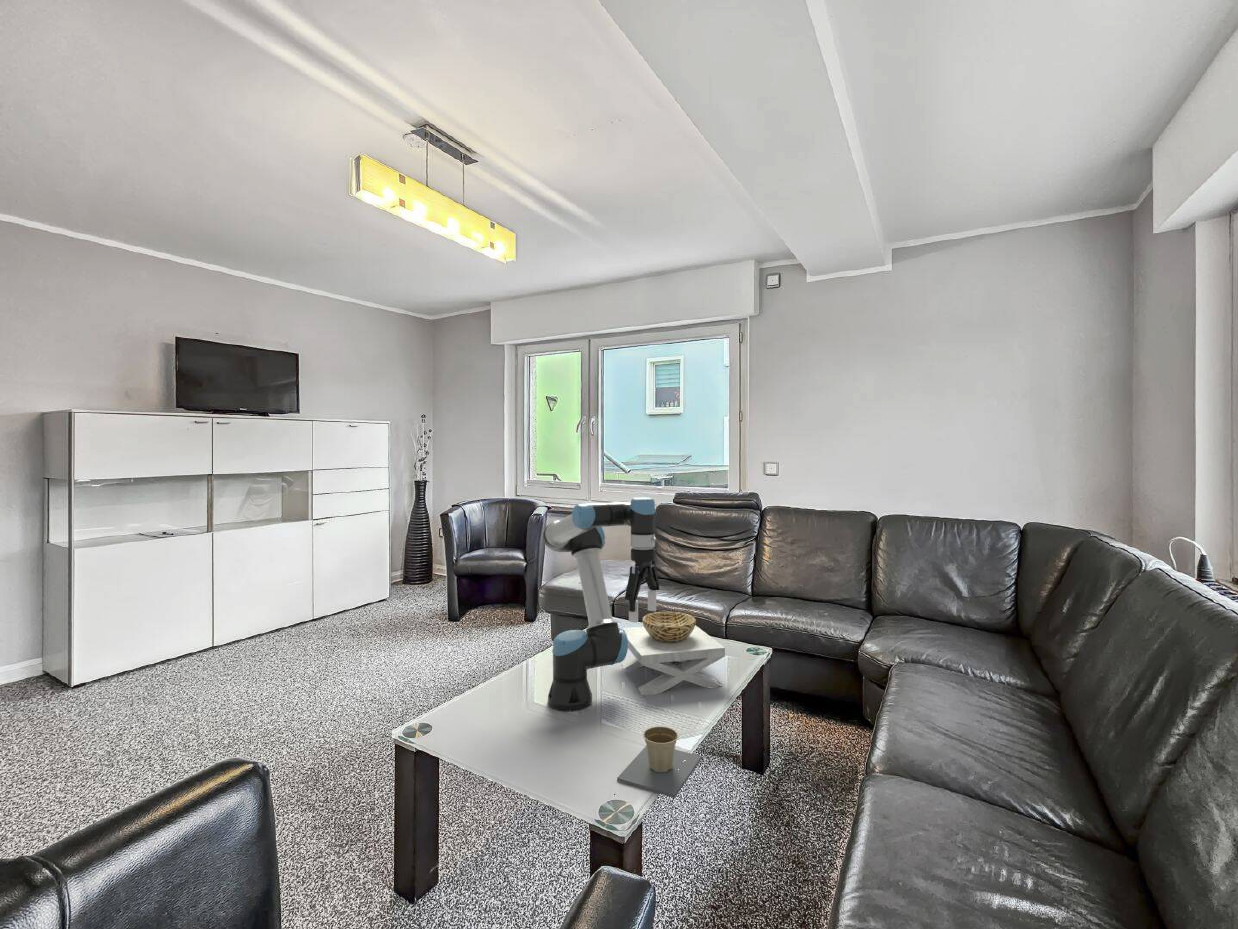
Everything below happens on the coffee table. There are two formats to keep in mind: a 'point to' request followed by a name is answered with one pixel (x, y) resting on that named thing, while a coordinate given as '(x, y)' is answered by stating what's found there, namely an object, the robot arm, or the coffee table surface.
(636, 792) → the coffee table surface
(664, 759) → the flower pot
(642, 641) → the white x-leg stand
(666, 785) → the charcoal mat
